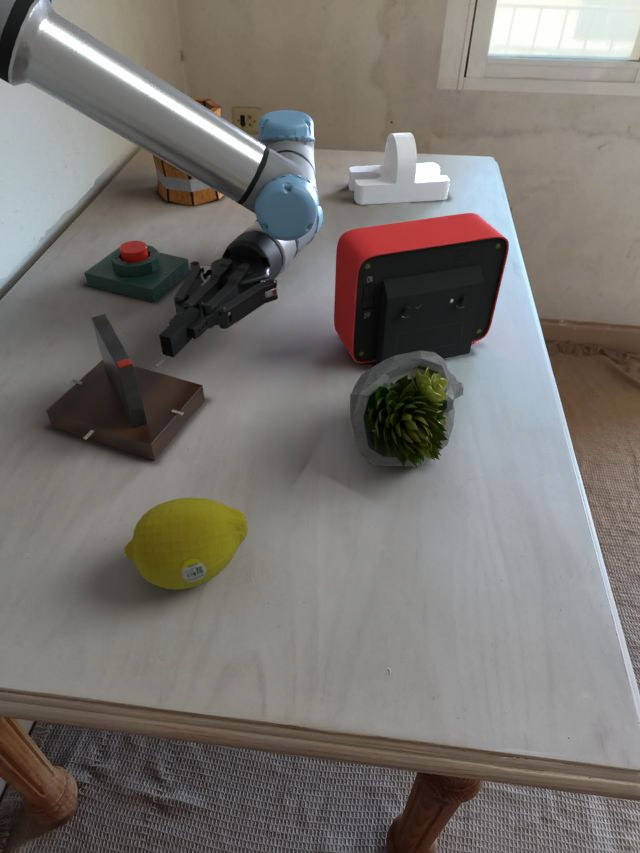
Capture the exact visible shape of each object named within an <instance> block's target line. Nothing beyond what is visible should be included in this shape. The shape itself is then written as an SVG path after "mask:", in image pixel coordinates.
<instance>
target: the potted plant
mask: <svg viewBox="0 0 640 853" xmlns="http://www.w3.org/2000/svg"><path fill="white" fill-rule="evenodd" d="M463 395H464V386H463V383H461V381H459V380H458V379H457V378H456V376H455V375H454V374H453V373H452V371H450V369H448V366H447V364H446V362H445V358H442V357H440V356H439V355H438V354H436V353H435V352H429V351H421V350H420V351H415V352H410V353H405V354H400V355H395V356H393V357H390V358H388V359H386V360H384V361H382V362H381V363H379V364H375V365H374V366H372V367H370V368H369V369H368V370H366V371H364V372H363V373H361V374H360V376H359V377H358V380H357V381H356V383H355V384H354V387H353V389H352V391H351V393H350V394H349V419H350V424H351V428H352V433H353V437H354V441H355V444H356V450H357V452H358V455H359V456H361V457H362V458H364V459H365V460H367V461H369V462H370V463H372V464H373V465H375V466H377V467H403V468H405V467H414V468H416V469H417V470H418V469H419V468H418V466H423V464H424V463H426V462H427V461H428V460H434V461H436V460H438V461H440V460H441V459H440V457H442V454H441V452H440V451H442V450H444V448H446V447H447V446H448V444H449V441H450V438H451V434H452V431H453V428H454V423H455V422H454V421H455V414H456V413H455V412H456V411H455V401H456V400H457V399H458V398H460V397H462V396H463ZM439 456H440V457H439Z"/></svg>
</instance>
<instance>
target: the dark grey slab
mask: <svg viewBox="0 0 640 853" xmlns="http://www.w3.org/2000/svg"><path fill="white" fill-rule="evenodd" d="M90 319H91V323H92V327H93V330H94V334H95V338H96V341H97V344H98V348H99V352H100V356H101V358H102V360H103V363H104V366H105V370H106V373H107V375H108V377H109V379H110V381H111V383H112V385H113V387H114V389H115V391H116V394H117V396H118V398H119V400H120V402H121V404H122V406H123V408H124V410H125V412H126V414H127V416H128V418H129V420H130V422H131V424H132V426H133V427H137V426H140V425H143V424H146V423H147V419H146V415H145V410H144V406H143V402H142V398H141V394H140V389H139V385H138V381H137V377H136V372H135V368H134V366H135V365H134V363H133V361H132V359H131V358H130V356H129V355H128V352H127V351H126V349H125V347H124V345H123V343H122V342H121V340H120V338H119V336H118V335H117V333H116V331H115V329H114V327H113V326H112V324H111V321H110V320H109V318H108V316H107V315H106V314H105V313H102V314H99V315H95V316H92V317H90Z"/></svg>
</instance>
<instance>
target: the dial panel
mask: <svg viewBox="0 0 640 853" xmlns="http://www.w3.org/2000/svg"><path fill="white" fill-rule="evenodd" d="M162 363H164V359H163V360H162V359H160V360H159V361H158V362H157V363H156V364H155V365H154V368H157V369H158V368H159V367H160V366H161V365H162ZM134 368H135V372H136V377H137V381H138V385H139V389H140V394H141V398H142V402H143V406H144V410H145V415H146V419H147V423H146V424H143V425H140V426H137V427H133V426H132V424H131V422H130V420H129V418H128V416H127V414H126V412H125V410H124V408H123V406H122V404H121V402H120V400H119V398H118V396H117V394H116V391H115V389H114V387H113V385H112V383H111V381H110V379H109V377H108V375H107V373H106V370H105V366H104V363H103V359H102V360H100V362H98V363H97V364H96V365H95V366H94V367H93V368H92V369H90V371H88V372H87V373H86V374H85V375H84V376H83V377H82V378H80V379H79V380H76V379H72V380H71V381H70V382H71V383H73V384H74V385H72V387H71V388H70V389H68V390H67V391H66V392H64V394H63V395H61V396H60V397H59V399H57V400H56V401H55V402H54V403H53V404H52V405H51V406H49V407H48V409H46V410H45V412H46V415H47V418H48V420H49V422H50V423H49V424H50V425H51V428H55V429H58V430H60V431H64V432H66V433H70V434H73V435H77V436H79V437H81V438H82V439H83V440H85V441H87V439H88V440H92V441H94V442H97V443H99V444H100V443H101V444H102V445H106V446H110V447H112V448H115V449H119V450H122V451H124V452H127V453H131V454H133V455H137V456H140V457H142V458H146V459H149V460H152V461H156V460H157V459H158V458H159V456H160V455H161V454H162V452H163V451H164V450H165V449H166V448H167V447H168V445H169V444H170V443H171V442H172V441H173V439H174V438H175V437H176V436H177V435H178V433H179V432H180V431H181V430H182V429H183V428H184V426H186V425H187V423H188V422H189V421H190V420H191V418H192V417H193V416H194V415H195V413H196V412H197V411H198V410H199V408H200V407H201V406H202V405H203V404H204V403H205V401H206V399H205V392H204V386H203V384H201V383H200V384H199V383H197V382H192V381H189V380H185V379H182V378H179V377H175V376H171V375H168V374H164V373H161V372H158V371H154V370H151V369H147V368H143V367H140V366H137V365H134Z"/></svg>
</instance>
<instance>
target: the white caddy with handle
mask: <svg viewBox="0 0 640 853" xmlns="http://www.w3.org/2000/svg"><path fill="white" fill-rule="evenodd" d="M441 170H442V167H441V166H440V164H439V163H437V162H418V151H417V144H416V139H415V137H414V135H413V133H412V132H393V133H391V132H390V133H389V134H388V136H387V138H386V142H385V148H384V157H383V164H374V165H373V164H371V165H353V166H350V167H349V168H348V182H347V186H348V190H349V191H350V192H354V193H353V199H354V201H355V204H357V205H361V206H364V205H365V206H366V205H383V204H384V205H385V204H398V203H414V202H432V201H445V200H447V199H448V194H449V189H450V182H451V178H450V177H449V176H448V175H447V174H441Z"/></svg>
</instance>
